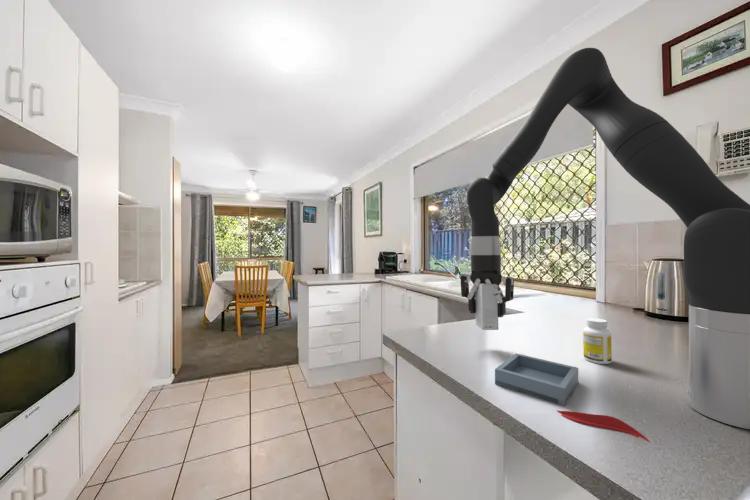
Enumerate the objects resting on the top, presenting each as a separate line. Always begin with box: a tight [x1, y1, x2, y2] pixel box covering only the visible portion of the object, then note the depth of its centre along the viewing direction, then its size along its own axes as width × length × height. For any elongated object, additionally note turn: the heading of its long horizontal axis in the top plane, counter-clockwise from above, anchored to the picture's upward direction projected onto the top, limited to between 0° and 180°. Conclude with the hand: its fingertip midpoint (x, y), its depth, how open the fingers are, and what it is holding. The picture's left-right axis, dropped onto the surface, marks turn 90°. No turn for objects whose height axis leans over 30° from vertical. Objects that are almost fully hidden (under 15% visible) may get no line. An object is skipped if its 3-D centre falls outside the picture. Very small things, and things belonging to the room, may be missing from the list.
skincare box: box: [475, 283, 499, 331], centre depth 79 cm, size 6×4×12 cm
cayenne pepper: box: [557, 410, 652, 443], centre depth 45 cm, size 12×5×2 cm, turn 38°
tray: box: [494, 353, 579, 407], centre depth 59 cm, size 12×12×3 cm
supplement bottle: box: [582, 317, 613, 365], centre depth 71 cm, size 5×5×10 cm
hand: (486, 314), depth 79 cm, fingers closed on skincare box, 7 cm apart
